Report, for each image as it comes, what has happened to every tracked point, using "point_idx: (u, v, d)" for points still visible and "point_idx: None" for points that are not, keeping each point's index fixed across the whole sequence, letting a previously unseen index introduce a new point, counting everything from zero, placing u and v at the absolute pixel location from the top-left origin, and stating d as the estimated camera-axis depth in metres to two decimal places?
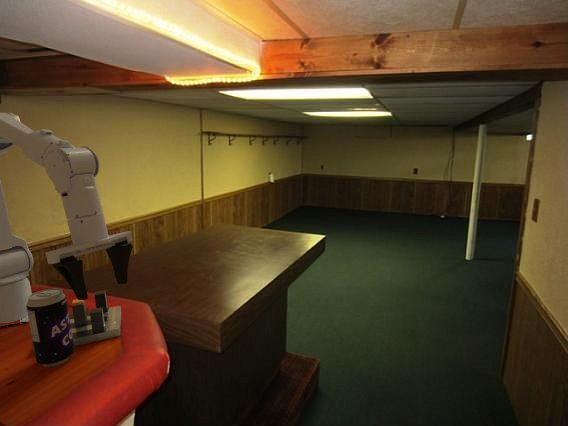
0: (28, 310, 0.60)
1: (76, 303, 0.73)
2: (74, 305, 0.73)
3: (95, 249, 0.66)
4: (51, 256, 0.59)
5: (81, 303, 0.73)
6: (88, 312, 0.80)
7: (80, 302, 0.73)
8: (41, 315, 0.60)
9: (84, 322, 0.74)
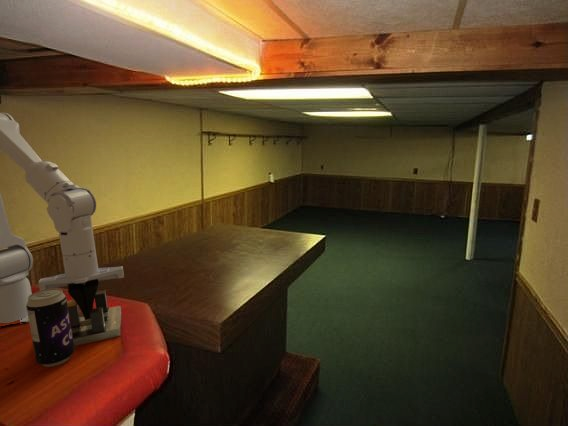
0: (28, 310, 0.60)
1: (69, 304, 0.72)
2: None
3: (84, 281, 0.73)
4: (39, 284, 0.70)
5: (74, 304, 0.73)
6: None
7: (73, 303, 0.73)
8: (41, 315, 0.60)
9: (77, 323, 0.73)
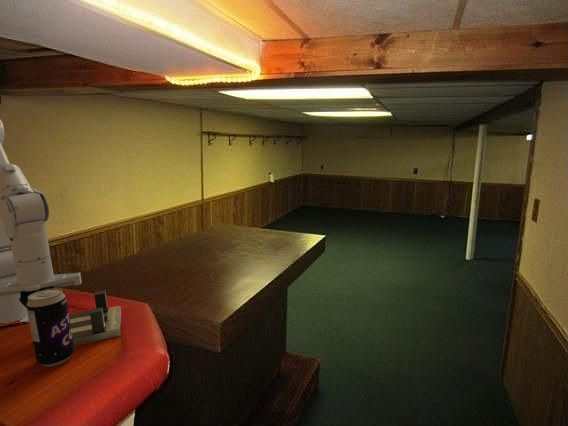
0: (28, 310, 0.60)
1: None
2: None
3: (38, 289, 0.70)
4: None
5: None
6: (88, 312, 0.80)
7: None
8: (41, 315, 0.60)
9: None
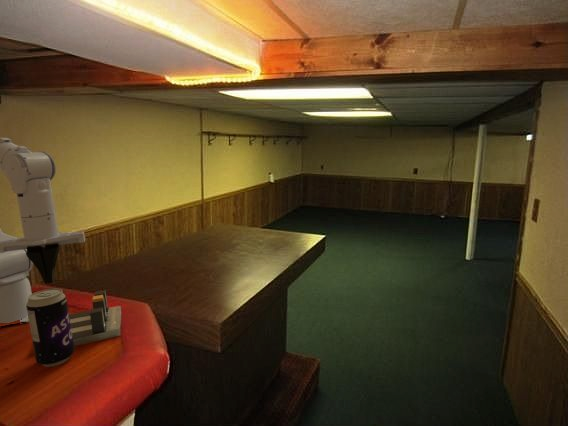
0: (28, 310, 0.60)
1: (96, 299, 0.74)
2: (94, 301, 0.74)
3: (44, 245, 0.73)
4: None
5: (101, 299, 0.74)
6: (88, 312, 0.80)
7: (100, 298, 0.74)
8: (41, 315, 0.60)
9: (104, 318, 0.75)
